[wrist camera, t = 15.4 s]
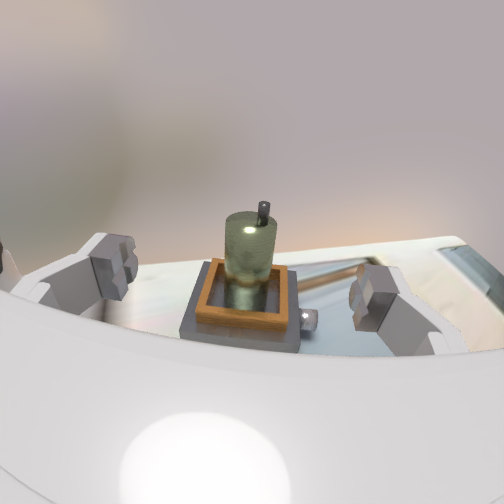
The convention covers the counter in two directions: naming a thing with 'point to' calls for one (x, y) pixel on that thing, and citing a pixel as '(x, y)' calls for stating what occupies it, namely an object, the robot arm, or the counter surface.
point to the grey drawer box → (247, 313)
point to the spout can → (248, 258)
